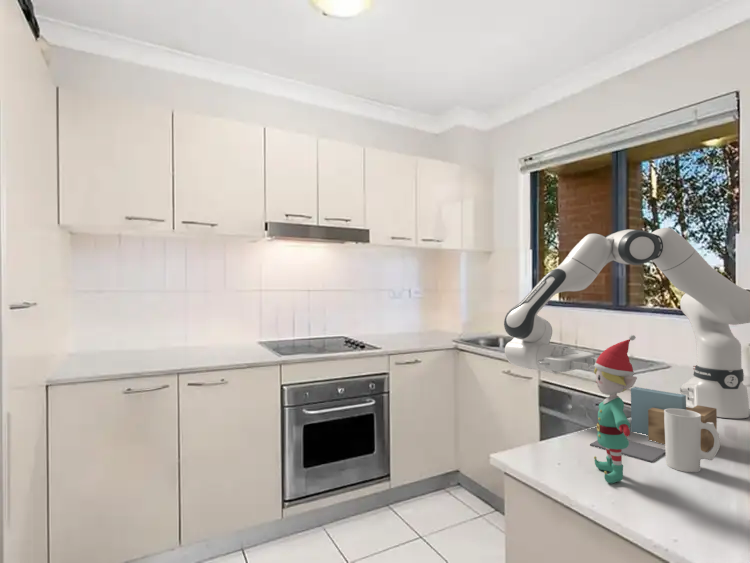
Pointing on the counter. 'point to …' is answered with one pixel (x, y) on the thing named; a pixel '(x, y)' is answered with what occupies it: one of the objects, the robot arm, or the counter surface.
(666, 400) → the blue rectangular block
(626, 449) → the mat
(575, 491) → the counter surface
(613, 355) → the toy
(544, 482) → the counter surface
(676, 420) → the mug
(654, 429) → the slot box
